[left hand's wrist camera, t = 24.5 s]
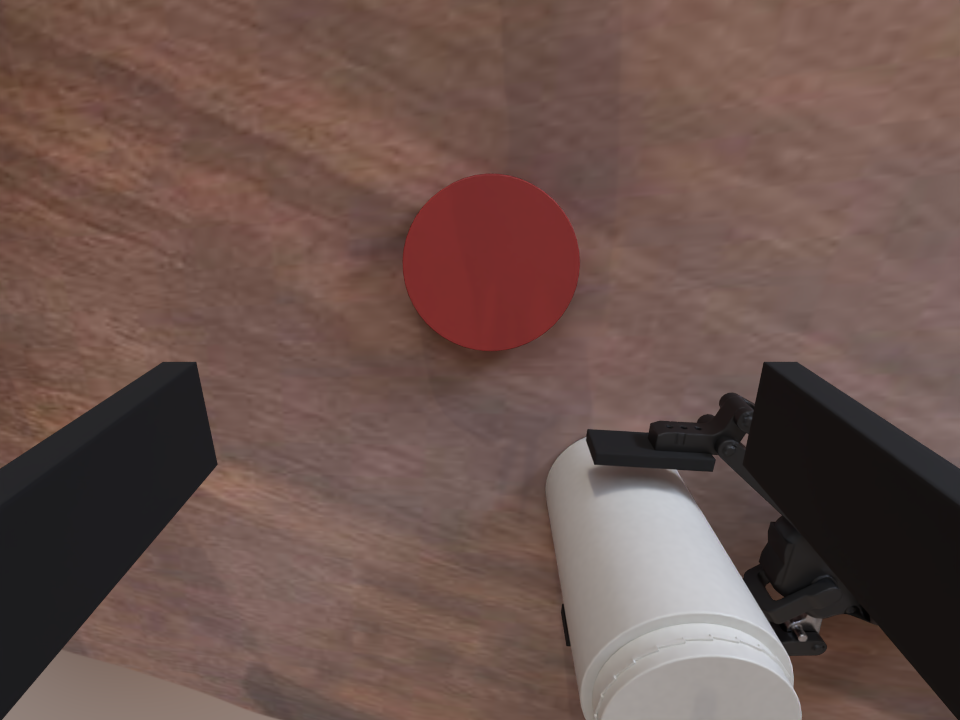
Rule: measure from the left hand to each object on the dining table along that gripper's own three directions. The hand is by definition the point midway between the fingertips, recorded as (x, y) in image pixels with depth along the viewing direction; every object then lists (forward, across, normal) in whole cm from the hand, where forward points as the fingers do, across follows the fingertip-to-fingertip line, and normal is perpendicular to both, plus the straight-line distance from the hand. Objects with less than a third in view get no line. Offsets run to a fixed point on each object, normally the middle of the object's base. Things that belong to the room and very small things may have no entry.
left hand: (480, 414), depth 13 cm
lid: (+20, +1, 0) cm, 20 cm away
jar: (+21, +9, -17) cm, 28 cm away
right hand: (+15, +6, -16) cm, 23 cm away
